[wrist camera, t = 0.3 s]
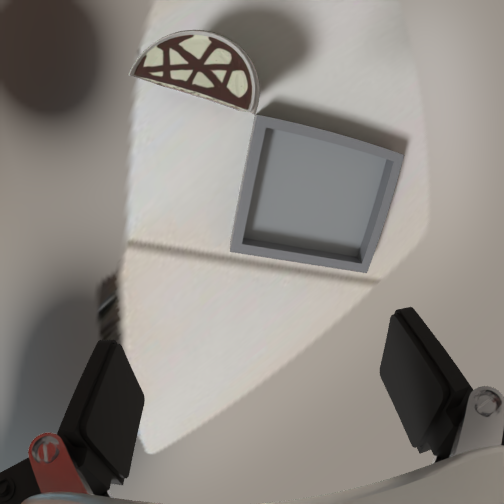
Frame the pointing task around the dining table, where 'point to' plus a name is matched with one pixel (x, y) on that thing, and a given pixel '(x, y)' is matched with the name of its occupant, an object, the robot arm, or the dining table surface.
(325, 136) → the tray
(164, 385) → the dining table surface
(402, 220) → the dining table surface
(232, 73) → the food container
